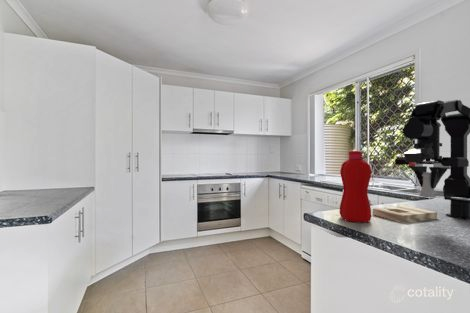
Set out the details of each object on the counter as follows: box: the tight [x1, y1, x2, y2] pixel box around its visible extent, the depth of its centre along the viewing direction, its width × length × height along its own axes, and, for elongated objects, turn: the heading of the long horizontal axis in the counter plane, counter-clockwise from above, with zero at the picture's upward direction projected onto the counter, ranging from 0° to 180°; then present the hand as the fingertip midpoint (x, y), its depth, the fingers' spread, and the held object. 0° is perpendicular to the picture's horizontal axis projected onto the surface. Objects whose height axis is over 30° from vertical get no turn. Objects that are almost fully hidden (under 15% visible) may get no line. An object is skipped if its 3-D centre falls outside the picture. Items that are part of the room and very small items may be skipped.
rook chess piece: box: [418, 171, 437, 199], centre depth 78 cm, size 4×4×8 cm
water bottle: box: [339, 150, 374, 223], centre depth 86 cm, size 9×11×25 cm
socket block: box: [371, 205, 438, 224], centre depth 91 cm, size 18×12×2 cm, turn 109°
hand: (427, 187), depth 78 cm, fingers closed on rook chess piece, 3 cm apart
